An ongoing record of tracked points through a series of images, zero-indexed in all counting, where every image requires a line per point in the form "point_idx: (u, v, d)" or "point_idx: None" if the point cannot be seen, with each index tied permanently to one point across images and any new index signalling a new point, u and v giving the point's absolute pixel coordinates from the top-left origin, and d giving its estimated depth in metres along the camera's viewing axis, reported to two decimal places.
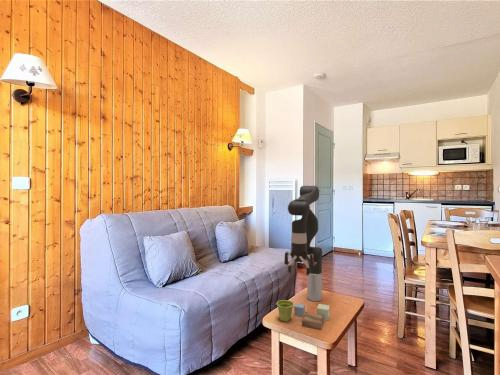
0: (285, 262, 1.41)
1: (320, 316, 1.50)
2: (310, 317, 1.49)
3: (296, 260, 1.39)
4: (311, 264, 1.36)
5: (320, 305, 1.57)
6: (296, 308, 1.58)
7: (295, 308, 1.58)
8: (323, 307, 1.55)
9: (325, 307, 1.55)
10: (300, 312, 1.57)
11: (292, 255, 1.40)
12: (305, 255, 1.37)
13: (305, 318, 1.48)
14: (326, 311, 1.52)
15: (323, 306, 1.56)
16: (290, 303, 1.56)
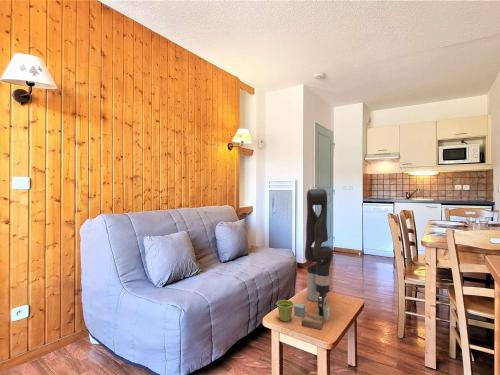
0: (322, 307, 1.49)
1: (320, 316, 1.50)
2: (310, 317, 1.49)
3: None
4: None
5: (320, 305, 1.57)
6: (296, 308, 1.58)
7: (295, 308, 1.58)
8: None
9: (325, 307, 1.55)
10: (300, 312, 1.57)
11: (323, 297, 1.52)
12: (325, 292, 1.58)
13: (305, 318, 1.48)
14: (326, 311, 1.52)
15: None
16: (290, 303, 1.56)
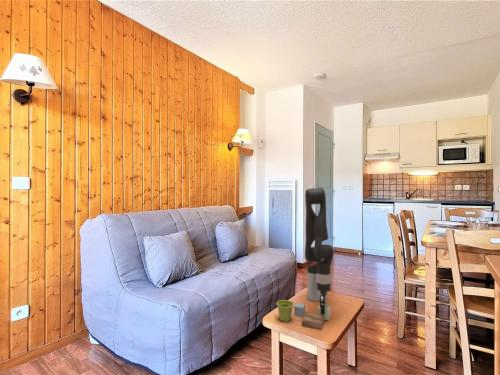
0: (324, 306, 1.50)
1: (320, 316, 1.50)
2: (310, 317, 1.49)
3: (325, 298, 1.54)
4: None
5: None
6: (296, 308, 1.58)
7: (295, 308, 1.58)
8: None
9: (326, 306, 1.54)
10: (300, 312, 1.57)
11: (324, 295, 1.52)
12: None
13: (305, 318, 1.48)
14: (326, 311, 1.52)
15: None
16: (290, 303, 1.56)
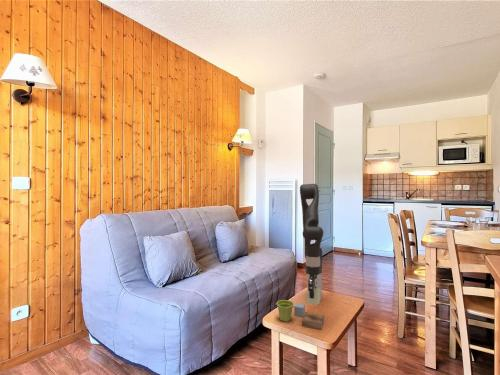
0: (313, 289, 1.43)
1: (320, 316, 1.50)
2: (310, 317, 1.49)
3: None
4: None
5: None
6: (296, 308, 1.58)
7: (295, 308, 1.58)
8: None
9: (315, 291, 1.48)
10: (300, 312, 1.57)
11: (314, 279, 1.46)
12: None
13: (305, 318, 1.48)
14: (316, 295, 1.45)
15: None
16: (290, 303, 1.56)
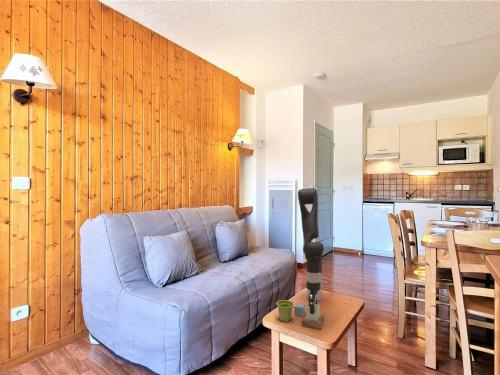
0: (313, 305, 1.42)
1: (320, 316, 1.50)
2: None
3: None
4: None
5: None
6: (296, 308, 1.58)
7: (295, 308, 1.58)
8: None
9: (315, 306, 1.48)
10: (300, 312, 1.57)
11: (314, 295, 1.46)
12: None
13: (305, 318, 1.48)
14: (316, 310, 1.45)
15: None
16: (290, 303, 1.56)
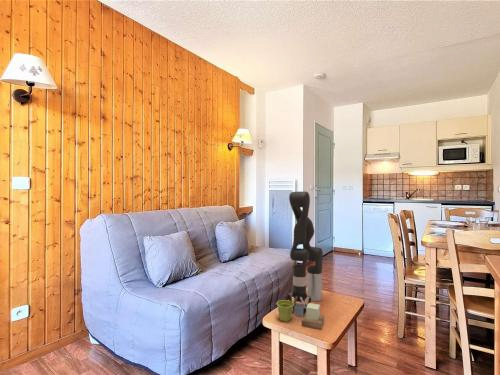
0: None
1: (320, 316, 1.50)
2: None
3: None
4: None
5: (310, 305, 1.50)
6: (296, 308, 1.58)
7: (295, 308, 1.58)
8: (313, 306, 1.48)
9: (315, 306, 1.48)
10: (300, 312, 1.57)
11: None
12: None
13: (305, 318, 1.48)
14: (316, 310, 1.45)
15: (313, 305, 1.49)
16: (290, 303, 1.56)
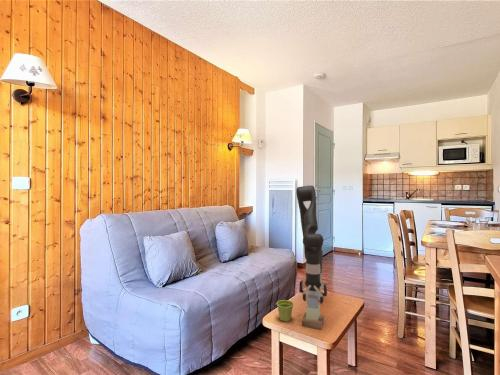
0: None
1: (320, 316, 1.50)
2: None
3: None
4: None
5: None
6: (309, 299, 1.47)
7: (308, 299, 1.47)
8: None
9: None
10: (314, 304, 1.46)
11: None
12: None
13: (305, 318, 1.48)
14: (316, 310, 1.45)
15: None
16: (290, 303, 1.56)
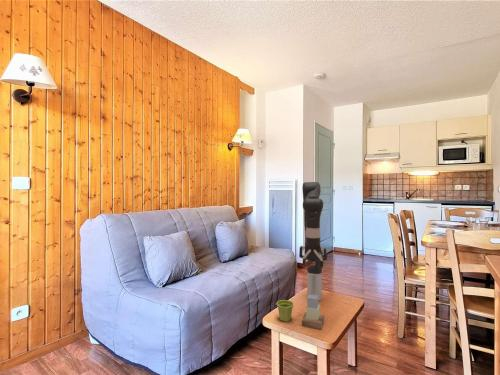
0: None
1: (320, 316, 1.50)
2: None
3: None
4: None
5: None
6: (309, 299, 1.47)
7: (308, 299, 1.47)
8: None
9: None
10: (314, 304, 1.46)
11: None
12: None
13: (305, 318, 1.48)
14: (316, 310, 1.45)
15: None
16: (290, 303, 1.56)
